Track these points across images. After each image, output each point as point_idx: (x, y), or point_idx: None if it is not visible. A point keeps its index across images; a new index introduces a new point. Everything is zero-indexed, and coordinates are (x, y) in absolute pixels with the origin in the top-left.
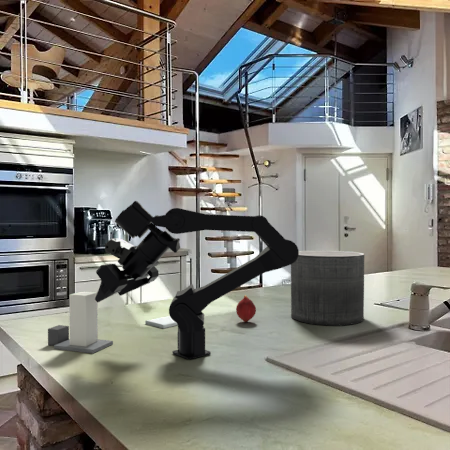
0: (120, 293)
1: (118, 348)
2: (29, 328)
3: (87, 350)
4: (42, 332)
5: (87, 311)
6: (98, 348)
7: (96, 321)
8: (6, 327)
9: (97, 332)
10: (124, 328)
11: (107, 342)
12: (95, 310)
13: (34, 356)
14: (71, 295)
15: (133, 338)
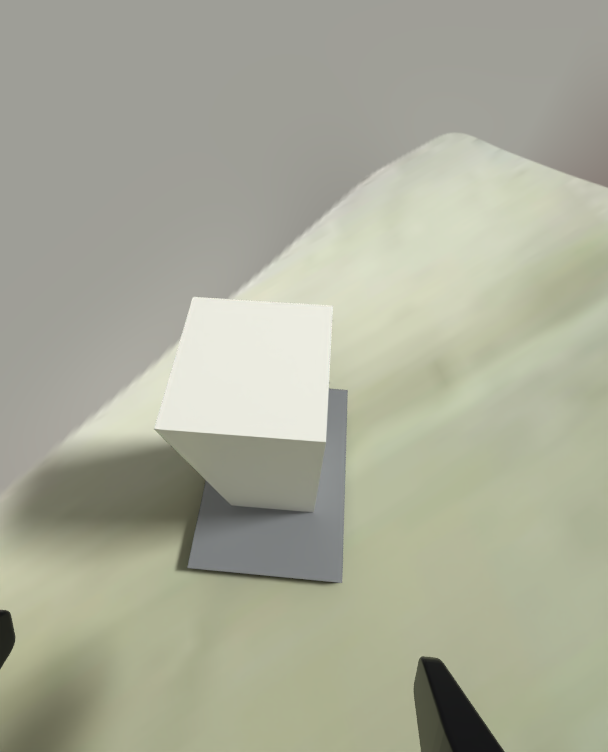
0: (419, 705)
1: (284, 654)
2: (413, 208)
3: (196, 535)
4: (391, 256)
5: (209, 468)
6: (227, 571)
7: (306, 493)
8: (397, 163)
9: (313, 505)
10: (591, 491)
11: (308, 570)
12: (297, 478)
13: (140, 378)
14: (191, 314)
15: (467, 640)
